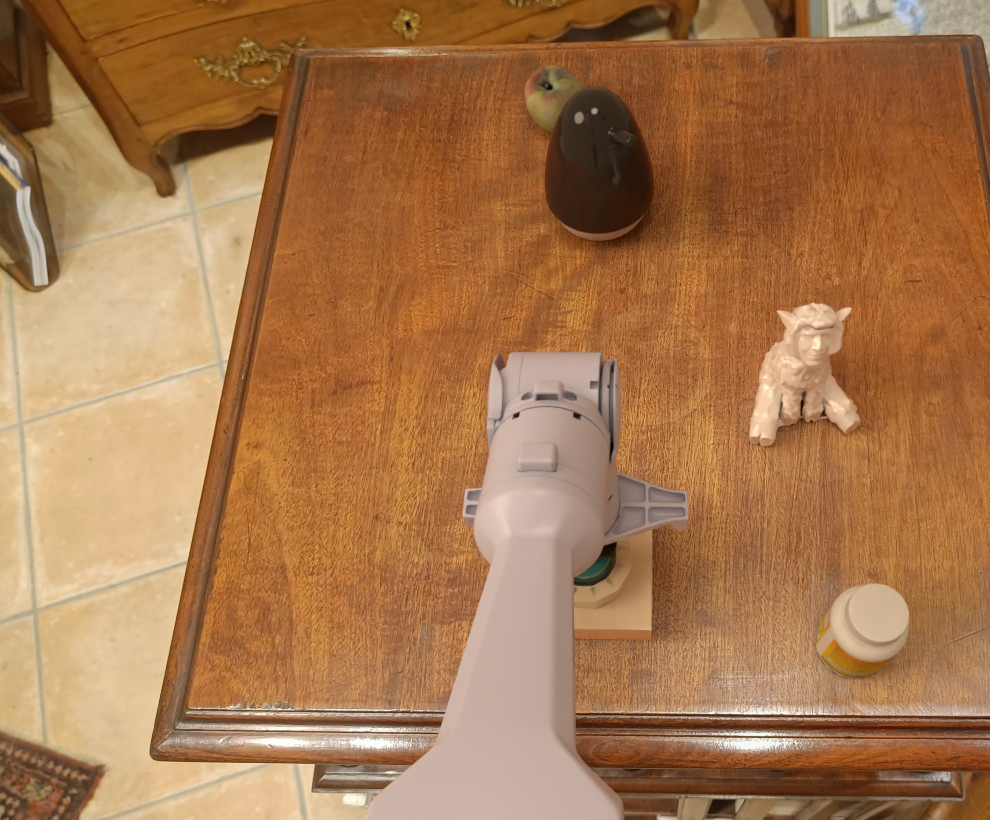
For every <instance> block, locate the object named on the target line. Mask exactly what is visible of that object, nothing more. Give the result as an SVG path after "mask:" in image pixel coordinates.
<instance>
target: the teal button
mask: <svg viewBox="0 0 990 820" xmlns="http://www.w3.org/2000/svg"><path fill="white" fill-rule="evenodd" d="M611 563H612V557H609V558H597V560H596V561H595V562H594V563H593V564H592V566H590V567H589V568H588V569H587V570H585V571H584V572H583V573H581V574H580V575H578V576H576V577H574V581H575V582H578V583H592V582H595V581H597V580H599V579H601V578H602V577H603V576H604V575H605V574H606V573H607V572H608V570H609V569H610V566H611Z"/></svg>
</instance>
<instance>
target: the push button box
mask: <svg viewBox="0 0 990 820" xmlns="http://www.w3.org/2000/svg"><path fill="white" fill-rule="evenodd" d="M653 530H654V529H653ZM653 530H650V531H647V532H644V533H641V534H638V535H635V536H632V537H629V538H626V539H622V540H619V541H617V547H616V550H615V553H614V555H613V556H612V563H611V566H610V569H609V570H608V572H607V573H606V574H605V575H604V576H603V577H602V578H601V579H599V580H597V581H595V582H592V583H578V582H575V581H574V634H575V639H576V640H625V641H628V640H629V641H652V640H653V537H654V536H653Z"/></svg>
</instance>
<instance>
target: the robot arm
mask: <svg viewBox="0 0 990 820" xmlns="http://www.w3.org/2000/svg"><path fill="white" fill-rule="evenodd" d="M621 375H622V374H621V369H620V366H619V362H618V361H617V357H613V359H611V358H610V359H604V356H603V352H602V351H511V352H510V353H509V354H508V358H507V361H506V363H505V360H504V357H503V355H502V354H501V353H500V352H499V353H496V354H495V356H494V358H493V361H492V364H491V369H490V375H489V381H488V387H487V388H488V389H487V402H486V403H487V404H486V405H487V406H486V407H487V408H486V409H487V411H486V413H487V417H486V434H487V435H486V437H487V444H488V451H489V453H488V458H487V463H486V468H485V471H484V476H483V480H482V485H481V487H473V488H471V487H470V488H465V489H464V497H463V507H462V518H463V520H464V522H465V524H466V526H467V528H472V529H473V537H474V541H475V545H476V547H477V549H478V551H479V553H480V554H481V556H482V557H483V558H484V559H485V561H486V562H487V563H488V564H489V565H490V567H489V570H488V573H487V576H486V579H485V583H484V586H483V590H482V592H481V596H480V598H479V602H478V605H477V608H476V612H475V615H474V618H473V622H472V625H471V627H470V630H469V635H468V636H467V640H466V645H465V647H464V650H463V653H462V657H461V661H460V663H459V667H458V670H457V672H456V676H455V679H454V682H453V686H452V690H451V693H450V695H449V699H448V702H447V706H446V709H445V712H444V714H443V718H442V721H441V723H440V728H439V731H438V735H437V736H436V740H435V742H434V743H433V745H432V747H431V748H430V749H429V750H428V751H427V752H425V753H424V754H423V755H422V756H421V757H419V758H418V759H417V760H416V761H415V762H414V763H413V764H411V765H410V766H409V767H408V768H406V769H405V770H404V771H403V772H402V773H400V775H398V776H397V777H395V779H394V780H392V781H391V782H390V783H389V784H387V785H386V786H385V787H384V788H383V789H382V790H381V791H379V792H378V793H377V794H376V795H375V796H374V797H373V799H371V801H370V802H369V805H368V807H367V810H366V813H365V817H364V820H626V819H625V808H624V802H623V800H622V799H621V797H620V795H619V794H618V793H616V792H615V790H613V789H612V787H611V786H609V785H608V783H606V782H605V781H604V780H603V779H602V778H601V776H599V775H598V774H597V773H596V772H595V771H594V770H593V769H592V768H591V767H590V766H589V765H588V764H587V763H586V762H585V761H584V760H583V759H582V757H581V756H580V754H579V752H578V750H577V726H576V725H577V719H576V717H577V716H576V715H577V713H576V712H577V711H576V647H575V646H576V644H575V643H576V642H575V641H576V640H575V634H574V577H576V576H578V575H580V574H581V573H583V572H584V571H585V570H587V569H588V568H589V567H590V566H592V564H593V563H594V562H595V561H596V560H597V558H609V557H612V556H613V555H614V553H615V550H616V547H617V541H619V540H622V539H626V538H629V537H632V536H635V535H638V534H641V533H644V532H647V531H650V530H655V529H658V528H662V527H666V526H670V528H671V529H672V530H679V531H687V530H688V528H689V520H690V519H689V518H690V517H689V515H690V513H689V491H688V490H679V489H670V488H666V487H662V486H659V485H656V484H654V483H652V482H648V481H644V480H642V479H639V478H636V477H633V476H631V475H627V474H624V473H622V472H619V471H618V465H617V463H618V462H617V457H618V452H619V448H620V444H621V434H622V433H621V432H622V376H621Z"/></svg>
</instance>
